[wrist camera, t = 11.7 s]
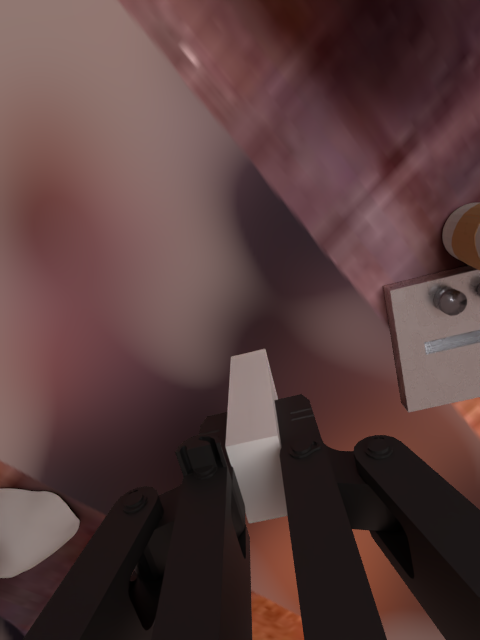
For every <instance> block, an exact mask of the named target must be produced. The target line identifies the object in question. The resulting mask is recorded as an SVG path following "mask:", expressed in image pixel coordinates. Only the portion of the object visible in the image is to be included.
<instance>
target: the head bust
mask: <svg viewBox="0 0 480 640" xmlns="http://www.w3.org/2000/svg"><path fill="white" fill-rule="evenodd" d="M79 523H80V521H79V519H78V518H77V517H76V516H75V515H74V513H73V512H72V511H71V509H70V508H69V507H68V505H67V504H66V503H65V502H64V501H63V500H62V499H61V498H60V497H59V496H58V495H56V494H54V493H51V492H47V491H40V492H37V491H27V490H22V489H10V488H4V489H0V578H11V577H14V576H16V575H18V574H20V573H22V572H24V571H27V570H29V569H31V568H33V567H34V566H36V565H37V564H39V563H40V562H42V561H43V560H45V559H46V558H48V557H49V556H50V555H52V554H53V553H54V552H56V551H57V550H58V549H59V548H60V547H62V546H63V545H64V544H65V543H66V542H67V541H68V540H70V539H71V538H72V537H73V536H74V535H75V533H76V532H77V530H78V528H79Z"/></svg>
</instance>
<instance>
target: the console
mask: <svg viewBox="0 0 480 640" xmlns="http://www.w3.org/2000/svg"><path fill="white" fill-rule="evenodd" d="M383 289H384V296H385V302H386V308H387V315H388V321H389V328H390V334H391V340H392V347H393V353H394V360H395V366H396V373H397V379H398V386H399V392H400V398H401V403H402V404H403V406H404V407H405V408H406V410H407V411H408V412H412V411H417V410H422V409H426V408H431V407H436V406H440V405H445V404H449V403H454V402H459V401H463V400H468V399H473V398H477V397H480V270H478V269H476V268H474V267H471V266H469V265H467V266H463V267H459V268H455V269H451V270H447V271H442V272H438V273H434V274H430V275H426V276H422V277H418V278H413V279H409V280H405V281H401V282H397V283H393V284H389V285H384V286H383Z"/></svg>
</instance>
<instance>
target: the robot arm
mask: <svg viewBox="0 0 480 640" xmlns="http://www.w3.org/2000/svg"><path fill="white" fill-rule="evenodd" d="M175 453H176V456H177V459H178V461H179V465H180V467H181V470H182V473H183V481H182V484H181V485H180V486H178V487H176V488H174V489H172V490H170V491H168V492H166V493H164V494H161V495H158V492H157V490H155V489H154V488H153V487H147V486H146V487H139V488H136V489H133V490H131V491H129V492H127V493H126V494H124V495H123V496H122V497H120V499H119V500H118V501H117V502H116V503H115V504H114V506H113V507H112V508H111V510H110V511H109V513H108V514H107V516H106V517H105V519H104V520H103V522H102V523H101V525H100V526H99V528H98V529H97V531H96V532H95V534H94V535H93V537H92V538H91V540H90V541H89V542H88V544H87V545H86V547H85V548H84V550H83V551H82V553H81V554H80V556H79V557H78V559H77V560H76V562H75V563H74V565H73V566H72V568H71V569H70V571H69V572H68V573H67V575H66V576H65V578H64V579H63V581H62V582H61V584H60V585H59V587H58V588H57V590H56V591H55V593H54V594H53V596H52V597H51V599H50V600H49V602H48V603H47V605H46V606H45V607H44V609H43V610H42V612H41V613H40V615H39V616H38V618H37V619H36V621H35V622H34V624H33V625H32V627H31V628H30V630H29V631H28V633H27V634H26V636H25V637H24V639H23V640H252V616H251V581H250V580H251V576H250V537H249V534H248V530H247V527H246V524H245V512H246V516H247V519H248V522H249V523H254V522H259V521H264V520H269V519H274V518H278V517H283V516H288V522H289V529H290V537H291V543H292V551H293V559H294V566H295V573H296V581H297V588H298V595H299V603H300V610H301V618H302V625H303V632H304V640H387V639H386V636H385V632H384V629H383V626H382V623H381V620H380V616H379V613H378V610H377V607H376V604H375V601H374V598H373V595H372V592H371V588H370V585H369V582H368V579H367V576H366V573H365V570H364V566H363V563H362V560H361V557H360V554H359V550H358V548H357V544H356V541H355V538H354V535H353V532H352V529H361V530H369V531H370V533H371V536H372V537H373V539H374V540H375V542H376V543H377V545H378V546H379V547H380V549H381V550H382V551H383V553H384V554H385V556H386V557H387V558H388V559H389V561H390V562H391V564H392V565H393V567H394V568H395V570H396V571H397V572H398V574H399V575H400V576H401V578H402V579H403V581H404V582H405V584H406V585H407V586H408V588H409V589H410V590H411V592H412V593H413V594H414V596H415V597H416V599H417V600H418V602H419V603H420V604H421V606H422V607H423V609H424V610H425V611H426V613H427V614H428V615H429V617H430V618H431V619H432V621H433V622H434V624H435V625H436V626H437V628H438V629H439V631H440V632H441V634H442V635H443V636H444V638H445V639H446V640H480V510H479V509H478V508H477V507H476V506H475V505H473V504H472V503H471V502H470V501H469V500H468V499H466V498H465V497H464V496H463V495H462V494H461V493H460V492H458V491H457V490H456V489H455V488H454V487H453V486H452V485H450V484H449V483H448V482H447V481H446V480H445V479H444V478H442V477H441V476H440V475H439V474H438V473H437V472H435V471H434V470H433V469H432V468H431V467H430V466H429V465H427V464H426V463H425V462H424V461H423V460H422V459H420V458H419V457H418V456H417V455H416V454H415V453H414V452H412V451H411V450H410V449H409V448H408V447H407V446H405V445H404V444H403V443H402V442H401V441H399V440H397V439H396V438H394V437H390V436H386V435H375V436H371V437H367V438H364V439H363V440H361V441H359V442H358V443H357V444H356V446H355V447H354V451H338V450H334V449H332V448H330V447H328V446H326V445H325V444H324V443H323V441H322V439H321V436H320V433H319V430H318V426H317V423H316V420H315V417H314V414H313V411H312V408H311V405H310V401H309V400H308V399H307V398H306V397H304V396H303V395H301V394H300V395H296V396H292V397H287V398H283V399H278V397H277V394H276V390H275V386H274V382H273V378H272V374H271V370H270V366H269V362H268V358H267V354H266V350H265V349H263V350H258V351H254V352H249V353H245V354H241V355H237V356H233V357H231V366H230V382H229V398H228V412H225V413H221V414H216V415H212V416H207V418H206V419H205V420H204V422H203V423H202V424H201V426H200V433H199V435H197V436H193V437H191V438H189V439H187V440H186V441H184V442H183V443H182V444H181V445H180V446H179V447H178V448H177V450H176V452H175ZM134 569H135V570H134ZM133 571H134V572H133ZM132 572H133V574H132ZM131 575H132V576H131Z"/></svg>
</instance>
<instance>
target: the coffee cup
mask: <svg viewBox="0 0 480 640" xmlns="http://www.w3.org/2000/svg"><path fill="white" fill-rule="evenodd" d="M442 238H443V244H444V246H445V248H446V250H447V251H448V252H449V254H450V255H452V256H453V257H455V258H457V259H459V260H461V261H462V262H464V263H466V264H467V265H469V266H471V267H474V268H476V269H478V270H480V203H470V204H466V205H464V206H462V207H460V208H458V209H457V210H455V211H454V212H453V213H452V214H451V215H450V217H449V218H448V219H447V221H446V223H445V225H444V228H443V234H442Z"/></svg>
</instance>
